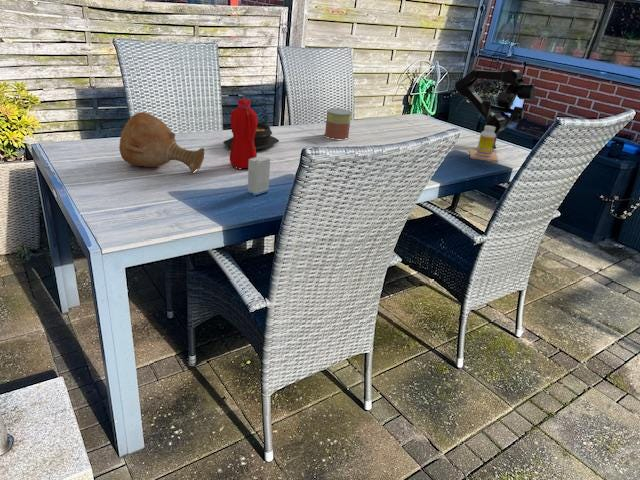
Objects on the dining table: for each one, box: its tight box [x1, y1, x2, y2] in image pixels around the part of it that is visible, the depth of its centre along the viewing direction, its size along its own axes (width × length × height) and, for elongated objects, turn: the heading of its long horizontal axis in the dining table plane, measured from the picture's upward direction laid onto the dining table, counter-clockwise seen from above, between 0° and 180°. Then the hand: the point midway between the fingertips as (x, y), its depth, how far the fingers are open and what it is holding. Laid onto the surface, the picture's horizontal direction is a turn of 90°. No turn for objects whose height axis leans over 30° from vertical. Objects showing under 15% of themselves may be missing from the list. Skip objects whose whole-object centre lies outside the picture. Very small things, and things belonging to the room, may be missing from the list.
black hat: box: [223, 122, 280, 150], centre depth 211 cm, size 25×19×8 cm
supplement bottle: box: [476, 124, 496, 156], centre depth 225 cm, size 7×7×13 cm
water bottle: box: [229, 98, 259, 168], centre depth 183 cm, size 9×11×25 cm
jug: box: [119, 111, 205, 174], centre depth 177 cm, size 20×19×30 cm
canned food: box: [324, 107, 352, 139], centre depth 233 cm, size 11×11×12 cm
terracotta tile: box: [468, 148, 499, 163], centre depth 228 cm, size 12×12×1 cm
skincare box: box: [247, 155, 271, 193], centre depth 165 cm, size 6×4×12 cm
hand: (494, 124), depth 227 cm, fingers open, 9 cm apart
